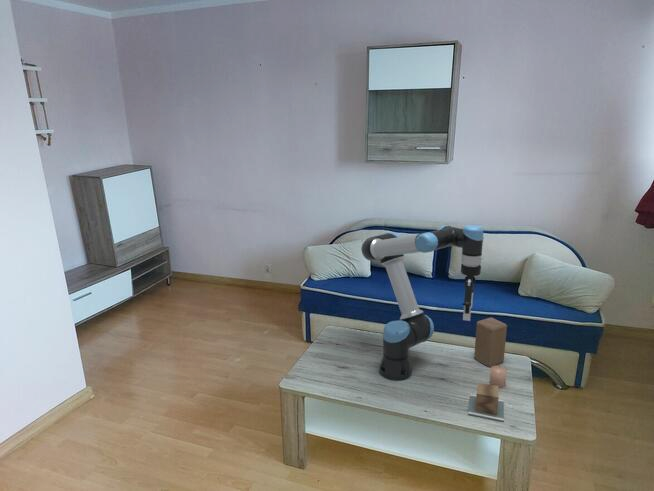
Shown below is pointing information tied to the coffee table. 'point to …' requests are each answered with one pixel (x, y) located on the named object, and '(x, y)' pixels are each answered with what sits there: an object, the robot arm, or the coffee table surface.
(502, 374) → the pink cylinder
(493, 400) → the cube
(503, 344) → the wooden block
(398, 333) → the robot arm
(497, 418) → the mat
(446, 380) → the coffee table surface
